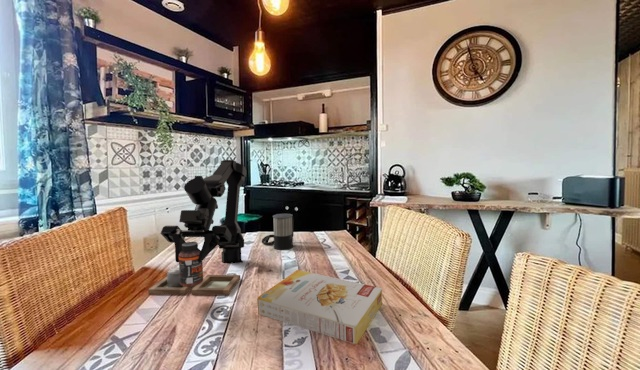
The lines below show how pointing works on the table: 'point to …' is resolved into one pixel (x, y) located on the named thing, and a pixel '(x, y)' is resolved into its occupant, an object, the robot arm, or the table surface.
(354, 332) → the cereal box
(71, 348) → the table surface
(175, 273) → the seated grey knob
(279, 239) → the milk frother
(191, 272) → the supplement bottle
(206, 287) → the walnut twin holder
